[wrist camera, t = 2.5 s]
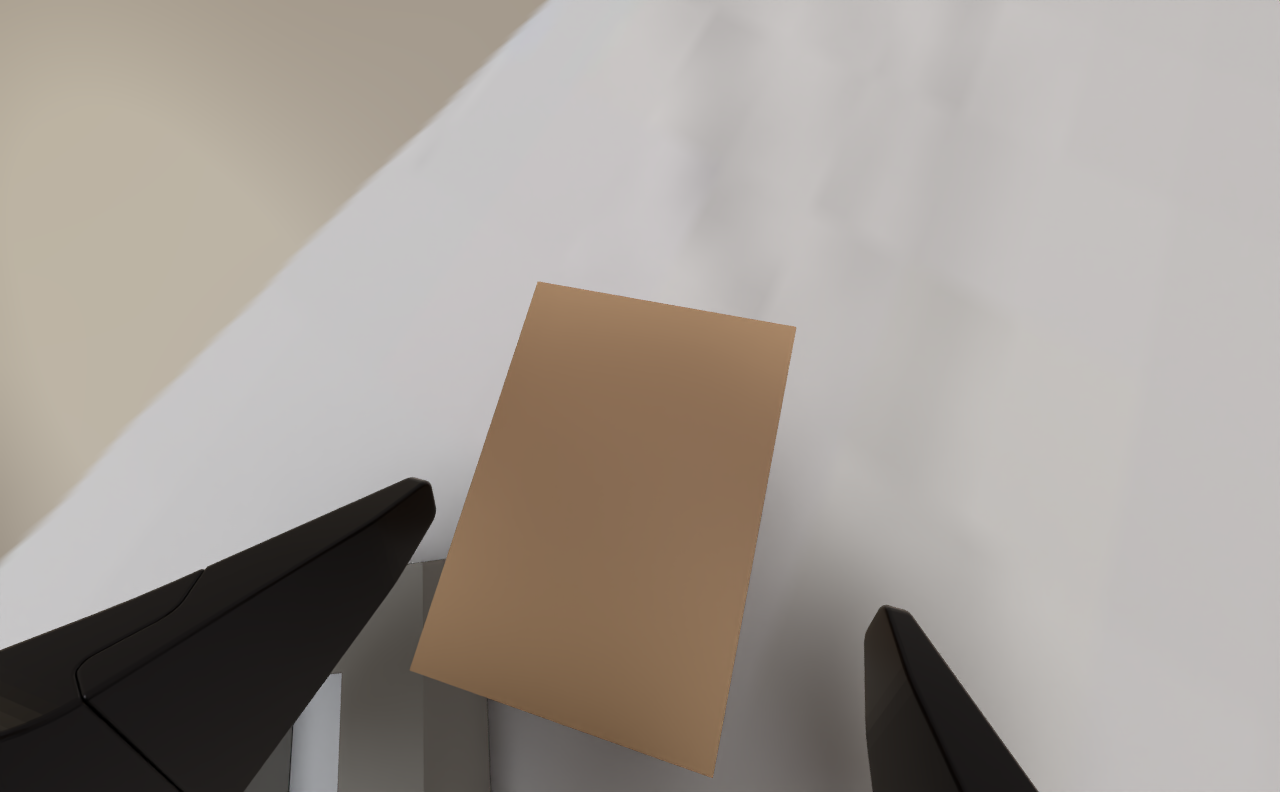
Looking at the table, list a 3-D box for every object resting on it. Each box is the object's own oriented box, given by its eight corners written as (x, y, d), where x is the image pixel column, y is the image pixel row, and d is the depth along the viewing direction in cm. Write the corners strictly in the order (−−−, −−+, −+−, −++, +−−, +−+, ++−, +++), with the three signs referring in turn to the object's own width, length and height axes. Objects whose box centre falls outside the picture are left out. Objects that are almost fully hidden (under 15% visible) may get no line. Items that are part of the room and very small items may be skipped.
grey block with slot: (496, 952, 15) (425, 1104, 11) (207, 972, 16) (46, 1119, 12) (481, 553, 18) (422, 562, 14) (244, 587, 19) (127, 603, 15)
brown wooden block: (702, 594, 17) (713, 777, 5) (610, 568, 17) (409, 669, 5) (730, 458, 18) (796, 327, 6) (642, 438, 18) (537, 281, 6)
